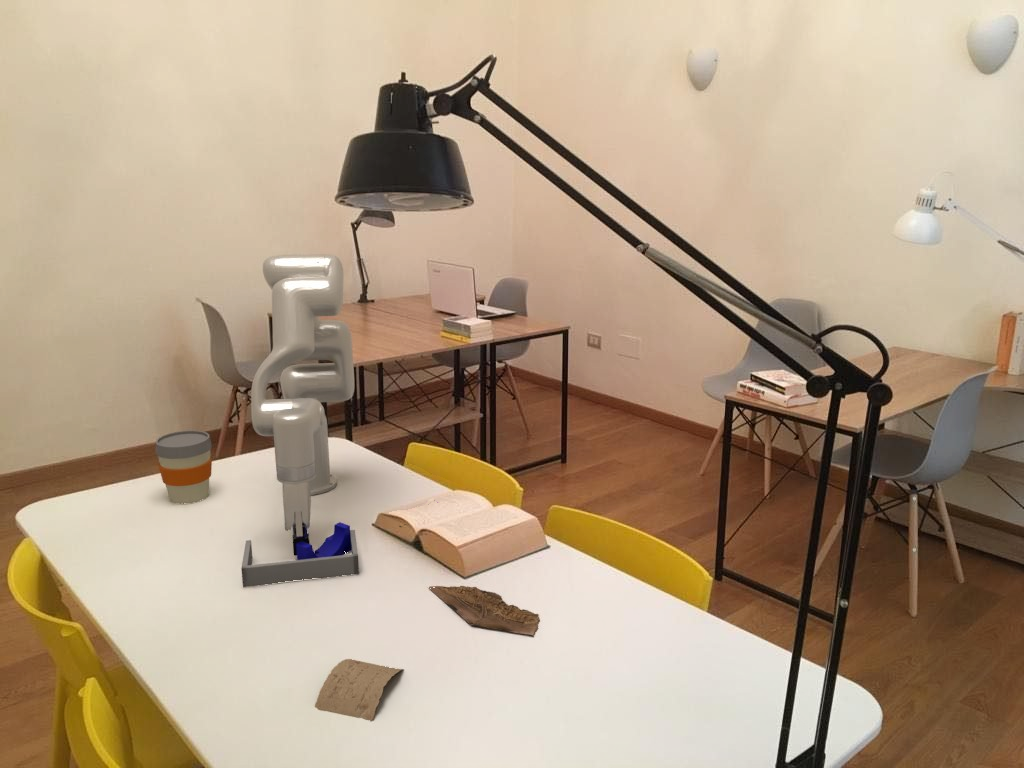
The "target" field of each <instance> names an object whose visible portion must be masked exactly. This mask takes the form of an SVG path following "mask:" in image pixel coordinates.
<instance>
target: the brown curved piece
mask: <svg viewBox="0 0 1024 768" xmlns="http://www.w3.org/2000/svg"><path fill="white" fill-rule="evenodd" d="M389 667H390V666H386V667H385V665H381V666H380V665H379V664H375V663H371V662H366V661H360V660H356V659H353V660H352V658H345V659H343V660H341V661H339V662H338V663H337V665H335V666H334V667H333V668H332V669H331V671H330V673H329V674H328V675H327V677H326V679H325V680H324V681H323V685H322V686H321V688H320V690H319V692H318V696H317V698H316V702H315V704H314V708H316V709H317V710H318V711H322V712H328V713H332V714H337V715H342V716H347V717H351V718H357V719H363V720H365V721H369V720H370V721H371V722H372V721H373V720H374V717H375V714H376V710H377V709H376V708H377V707H378V705H379V703H380V700H381V699H380V698H381V697H382V695H383V692H384V687H385V686H386V685H387V684H388V682H389V681H390V680H391V679H392V677H393V676H395V675H396V674H397V673H399V672H400V671H403V670H404V668H397V669H395V668H396V667H392V668H389ZM370 721H369V722H370Z"/></svg>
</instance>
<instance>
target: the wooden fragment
mask: <svg viewBox="0 0 1024 768" xmlns="http://www.w3.org/2000/svg"><path fill="white" fill-rule="evenodd" d="M428 587H429V588H428V589H429V591H431V590H432V591H431V593H433V594H434V595H436V596H437V597H438V598H439V599H440V600H441V601H443V602H444V603H445V604H446V605H448V606H449V607H451V608H452V610H454V611H455V612H456V613H457V614H458V615H460V617H461V618H462V619H464V620H465V621H466V622H467V623H468V624H469V625H470V626H471V627H482V628H486V629H487V628H488V629H493V630H498V631H502V632H510V633H515V634H519V635H520V634H521V635H530V636H532V637H533V638H534V637H535V635H536V633H537V632H538V630H539V628H538V627H539V623H540V617H539V613H534V612H532V611H530V610H528V609H521V608H520V607H519V606H517V605H514V604H510V605H509V604H507V602H506V601H504V600H502V596H501V595H500V594H498V593H496V592H493V591H487V590H482V589H480V588H478V587H477V586H472V587H471V586H468V585H467V586H465V585H460V586H455V585H453V586H452V585H451V586H443V585H431V586H428ZM433 587H435V588H433ZM430 588H431V589H430ZM535 632H536V633H535Z"/></svg>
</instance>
